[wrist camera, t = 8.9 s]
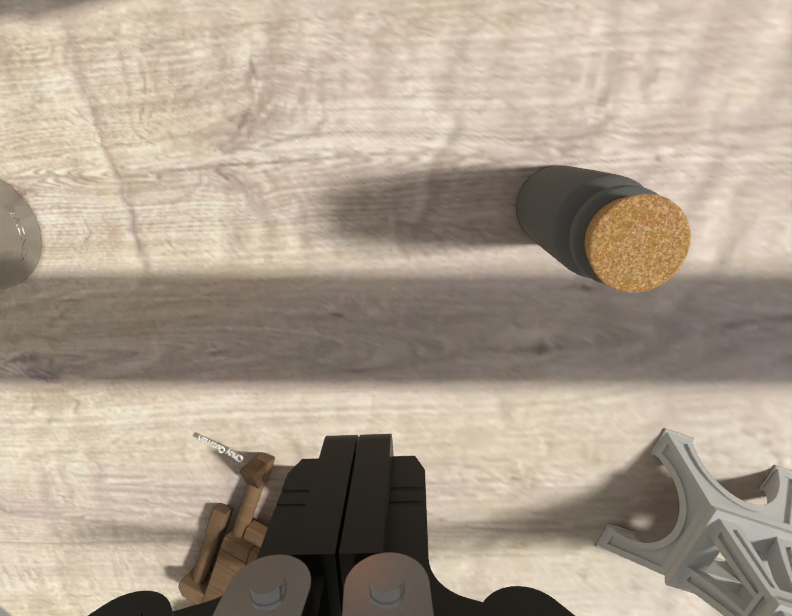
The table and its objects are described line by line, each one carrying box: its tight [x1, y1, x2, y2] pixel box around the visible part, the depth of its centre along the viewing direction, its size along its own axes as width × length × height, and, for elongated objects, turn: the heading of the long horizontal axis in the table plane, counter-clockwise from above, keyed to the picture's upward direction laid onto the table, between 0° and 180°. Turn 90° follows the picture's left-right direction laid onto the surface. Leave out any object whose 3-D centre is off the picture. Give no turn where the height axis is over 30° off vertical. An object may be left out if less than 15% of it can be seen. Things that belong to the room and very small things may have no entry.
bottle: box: [516, 166, 691, 293], centre depth 31 cm, size 6×6×15 cm
